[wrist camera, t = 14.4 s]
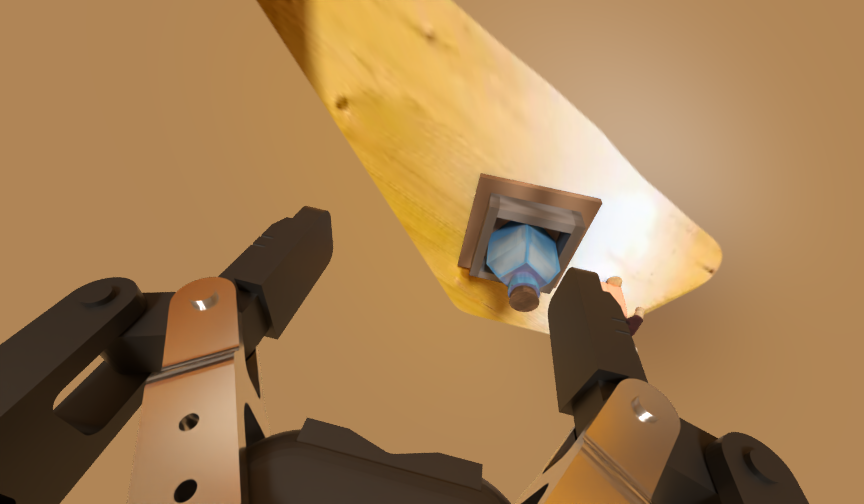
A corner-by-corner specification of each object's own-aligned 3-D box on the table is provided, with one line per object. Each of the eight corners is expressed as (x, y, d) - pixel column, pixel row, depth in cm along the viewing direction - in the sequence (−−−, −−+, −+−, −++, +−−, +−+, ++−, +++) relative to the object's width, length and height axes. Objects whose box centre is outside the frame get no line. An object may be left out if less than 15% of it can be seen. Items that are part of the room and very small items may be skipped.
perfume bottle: (517, 262, 47) (518, 327, 37) (489, 235, 45) (483, 297, 35) (555, 240, 43) (566, 306, 34) (526, 210, 41) (530, 271, 32)
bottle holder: (458, 261, 50) (454, 281, 46) (480, 173, 40) (477, 189, 37) (554, 283, 49) (557, 305, 45) (600, 199, 39) (609, 218, 36)
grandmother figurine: (621, 267, 45) (652, 342, 35) (634, 284, 46) (667, 361, 36) (570, 289, 49) (584, 361, 39) (583, 303, 50) (600, 377, 41)
